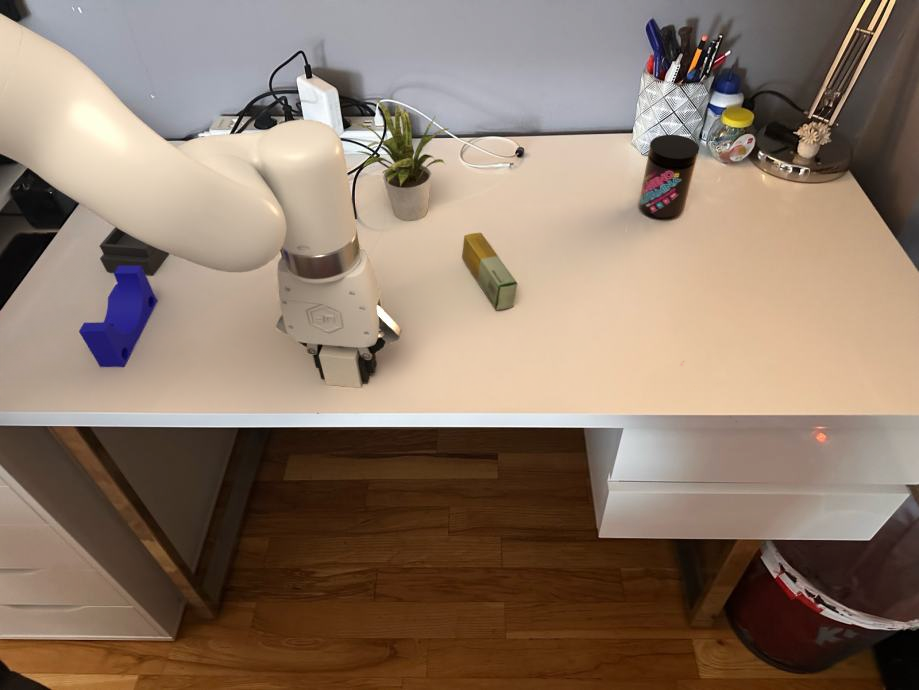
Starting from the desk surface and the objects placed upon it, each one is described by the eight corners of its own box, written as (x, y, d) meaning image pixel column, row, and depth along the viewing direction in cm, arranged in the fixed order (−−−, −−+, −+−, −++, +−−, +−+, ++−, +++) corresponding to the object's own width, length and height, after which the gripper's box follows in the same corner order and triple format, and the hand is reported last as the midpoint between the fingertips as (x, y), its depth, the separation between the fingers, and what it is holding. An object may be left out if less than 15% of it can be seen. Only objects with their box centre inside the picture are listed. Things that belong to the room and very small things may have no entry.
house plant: (340, 204, 105) (322, 104, 93) (414, 174, 110) (405, 76, 99) (390, 248, 97) (377, 144, 85) (466, 213, 102) (464, 111, 91)
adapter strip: (106, 272, 94) (95, 249, 92) (157, 209, 105) (148, 187, 102) (153, 275, 94) (142, 252, 91) (199, 212, 104) (191, 189, 102)
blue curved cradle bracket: (124, 301, 90) (106, 266, 86) (157, 300, 90) (141, 265, 86) (87, 367, 82) (65, 331, 77) (124, 366, 81) (104, 331, 77)
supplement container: (631, 199, 104) (642, 137, 96) (673, 194, 104) (687, 132, 97) (647, 224, 99) (660, 161, 91) (691, 219, 100) (707, 155, 92)
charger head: (326, 384, 78) (317, 351, 74) (335, 359, 81) (328, 325, 77) (360, 388, 78) (354, 354, 74) (369, 362, 81) (363, 328, 77)
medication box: (515, 307, 87) (519, 283, 84) (496, 311, 86) (499, 287, 83) (478, 253, 95) (480, 230, 92) (460, 257, 94) (462, 233, 91)
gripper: (226, 266, 65) (269, 389, 78) (396, 278, 63) (411, 403, 76) (254, 221, 70) (290, 344, 83) (411, 231, 68) (423, 356, 81)
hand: (347, 371), depth 79 cm, fingers closed on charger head, 4 cm apart
